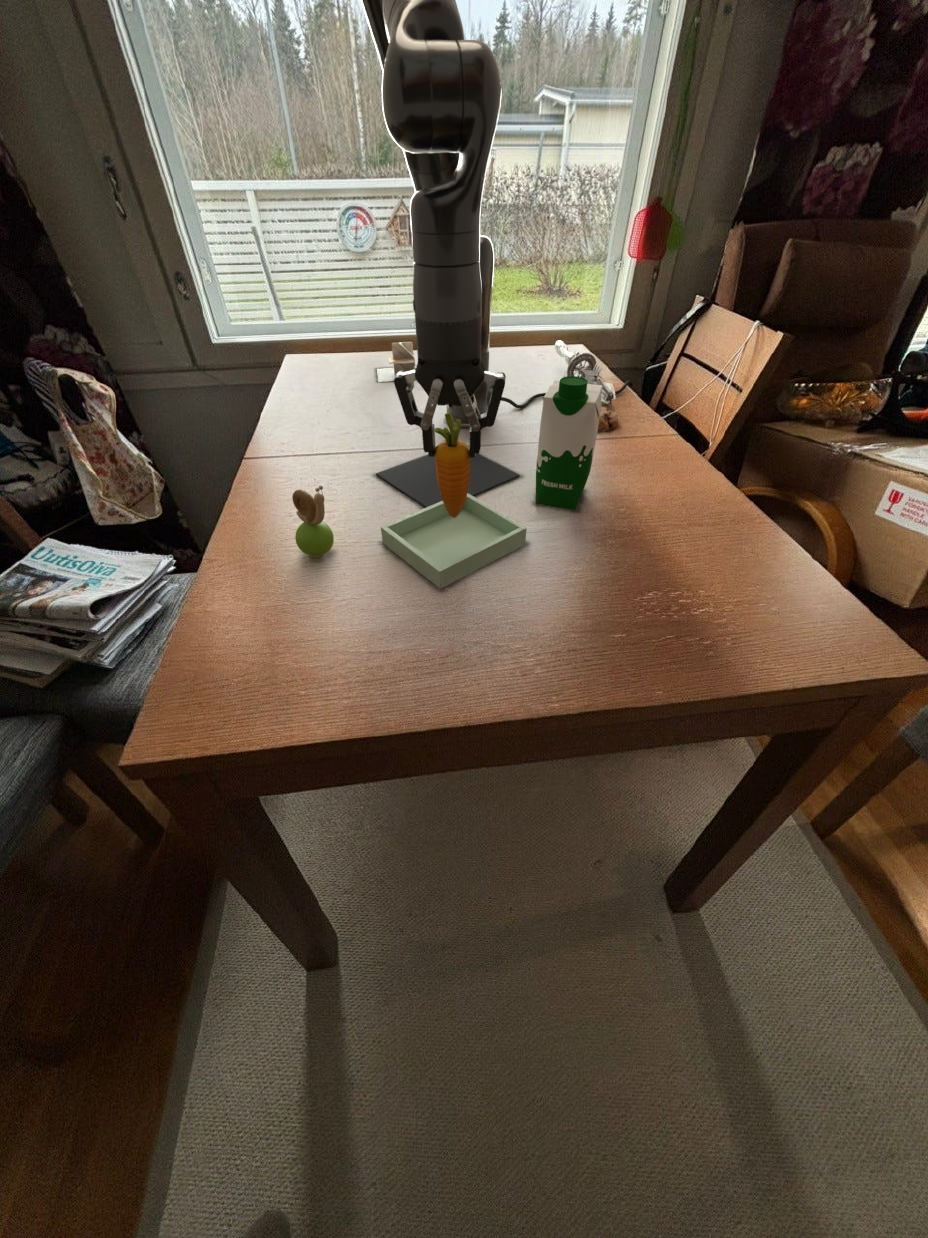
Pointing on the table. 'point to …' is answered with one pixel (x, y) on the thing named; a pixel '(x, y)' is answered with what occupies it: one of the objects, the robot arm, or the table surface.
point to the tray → (453, 539)
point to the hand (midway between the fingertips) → (452, 454)
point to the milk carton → (566, 441)
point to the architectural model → (398, 361)
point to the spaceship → (585, 370)
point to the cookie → (607, 420)
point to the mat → (423, 484)
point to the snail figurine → (312, 523)
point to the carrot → (452, 467)
